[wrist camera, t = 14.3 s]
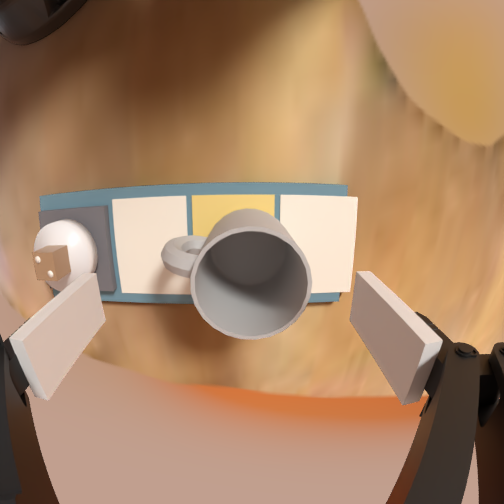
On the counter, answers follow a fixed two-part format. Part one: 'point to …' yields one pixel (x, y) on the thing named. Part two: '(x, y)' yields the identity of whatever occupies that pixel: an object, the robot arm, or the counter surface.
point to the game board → (204, 231)
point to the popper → (64, 253)
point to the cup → (244, 274)
